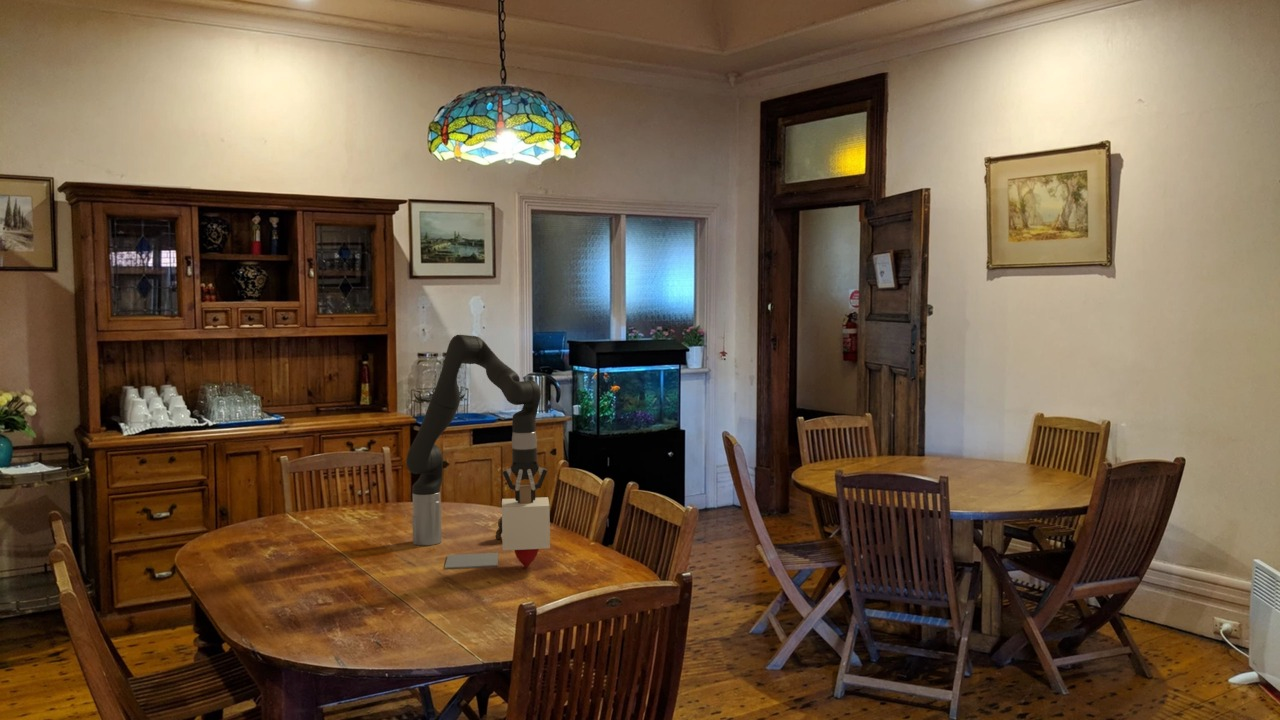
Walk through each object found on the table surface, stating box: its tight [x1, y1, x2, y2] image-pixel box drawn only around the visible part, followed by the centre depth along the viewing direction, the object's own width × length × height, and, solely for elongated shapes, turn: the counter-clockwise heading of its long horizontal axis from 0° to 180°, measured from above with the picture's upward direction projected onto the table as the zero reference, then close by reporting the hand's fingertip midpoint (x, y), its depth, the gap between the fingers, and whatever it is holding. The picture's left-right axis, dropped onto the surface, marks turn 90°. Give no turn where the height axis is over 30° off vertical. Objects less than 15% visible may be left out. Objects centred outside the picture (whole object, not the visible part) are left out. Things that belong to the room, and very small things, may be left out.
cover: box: [501, 484, 551, 551], centre depth 290 cm, size 14×12×18 cm
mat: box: [444, 552, 499, 570], centre depth 298 cm, size 16×14×1 cm
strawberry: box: [514, 549, 540, 568], centre depth 291 cm, size 6×8×10 cm
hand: (525, 501), depth 290 cm, fingers closed on cover, 3 cm apart
